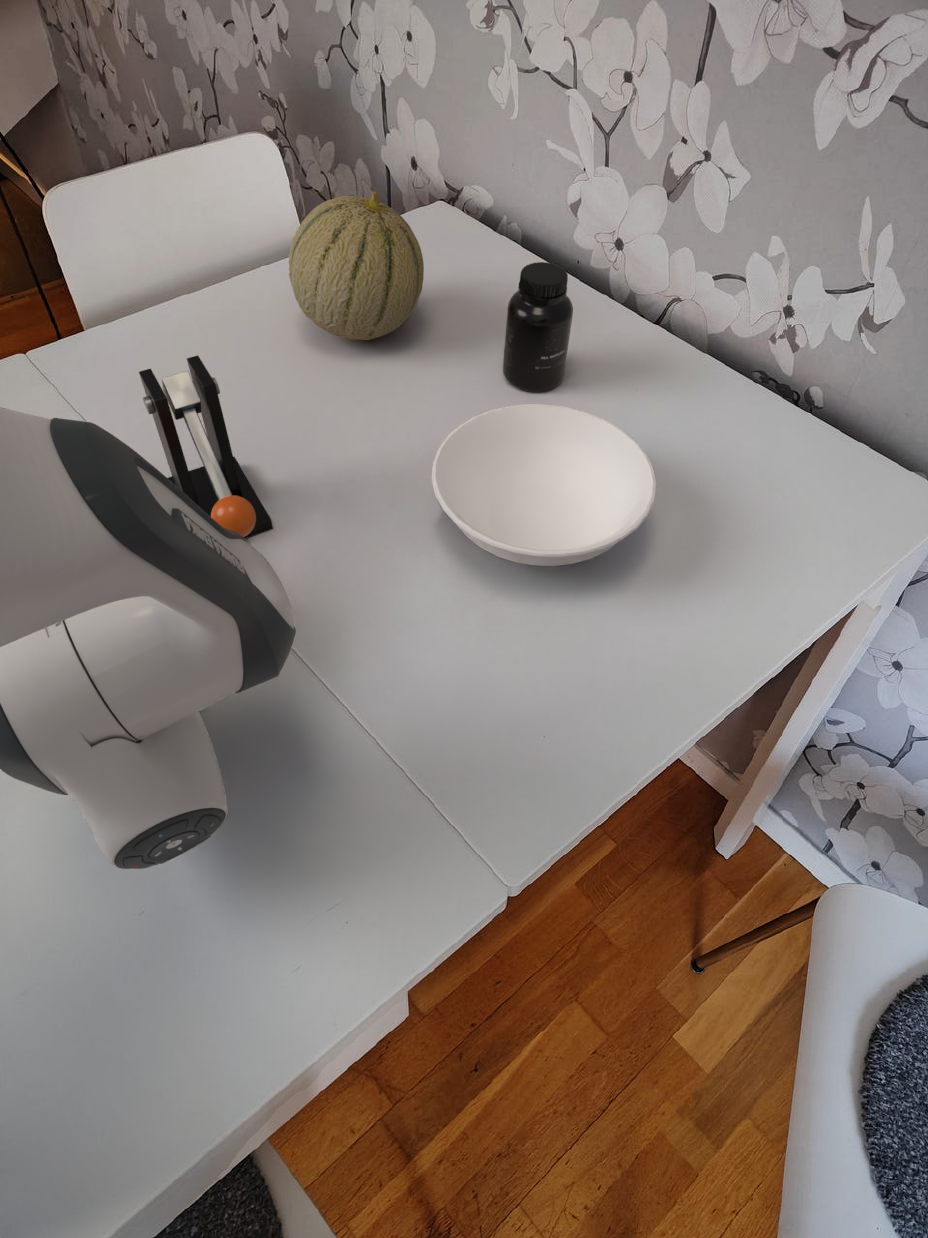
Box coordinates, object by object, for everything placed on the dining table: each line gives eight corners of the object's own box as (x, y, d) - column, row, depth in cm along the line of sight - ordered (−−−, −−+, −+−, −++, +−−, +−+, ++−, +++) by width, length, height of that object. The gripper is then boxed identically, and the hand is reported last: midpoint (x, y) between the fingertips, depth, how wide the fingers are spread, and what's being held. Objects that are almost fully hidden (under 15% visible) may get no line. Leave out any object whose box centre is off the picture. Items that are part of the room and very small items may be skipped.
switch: (261, 535, 74) (264, 524, 70) (220, 549, 73) (221, 539, 69) (196, 382, 74) (196, 364, 71) (155, 394, 73) (152, 377, 70)
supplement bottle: (551, 400, 93) (563, 298, 84) (492, 383, 95) (498, 281, 86) (573, 366, 97) (587, 265, 88) (517, 350, 99) (524, 249, 90)
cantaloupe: (271, 335, 100) (248, 205, 88) (353, 281, 108) (342, 155, 96) (370, 382, 95) (360, 250, 83) (450, 321, 102) (450, 193, 91)
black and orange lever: (273, 528, 80) (245, 396, 69) (189, 558, 78) (145, 426, 66) (236, 465, 86) (204, 332, 74) (156, 491, 83) (110, 358, 72)
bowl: (468, 437, 89) (470, 385, 84) (660, 479, 86) (673, 428, 81) (401, 573, 77) (398, 522, 72) (621, 629, 74) (633, 579, 69)
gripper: (238, 580, 63) (180, 468, 70) (-63, 692, 56) (-92, 555, 64) (253, 634, 68) (197, 523, 75) (-22, 742, 61) (-53, 609, 69)
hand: (62, 539), depth 70 cm, fingers closed on lighter, 3 cm apart
